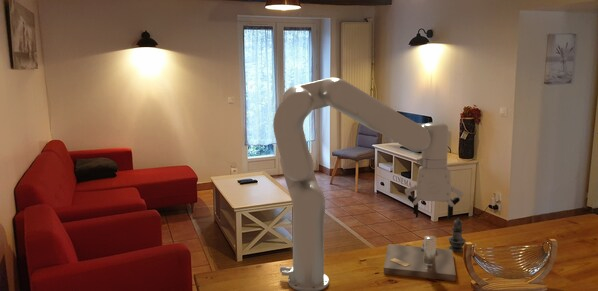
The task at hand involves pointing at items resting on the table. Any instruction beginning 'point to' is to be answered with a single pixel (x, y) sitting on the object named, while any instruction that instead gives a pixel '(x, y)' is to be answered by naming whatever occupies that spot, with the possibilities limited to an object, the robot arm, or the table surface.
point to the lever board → (419, 263)
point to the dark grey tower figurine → (457, 237)
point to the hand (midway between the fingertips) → (432, 216)
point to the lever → (429, 250)
